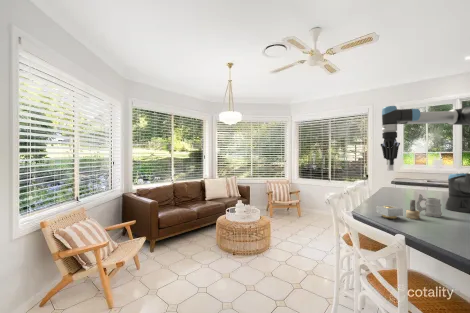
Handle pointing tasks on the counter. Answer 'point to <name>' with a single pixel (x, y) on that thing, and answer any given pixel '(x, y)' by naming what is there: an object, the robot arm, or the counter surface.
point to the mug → (430, 206)
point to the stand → (412, 211)
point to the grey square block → (389, 210)
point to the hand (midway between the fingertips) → (390, 170)
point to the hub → (389, 216)
